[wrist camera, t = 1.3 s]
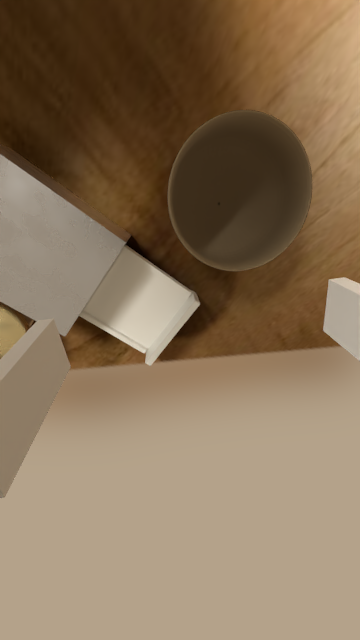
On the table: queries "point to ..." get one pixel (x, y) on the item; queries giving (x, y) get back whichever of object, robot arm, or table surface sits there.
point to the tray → (140, 304)
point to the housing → (50, 244)
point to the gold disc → (10, 328)
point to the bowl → (239, 190)
